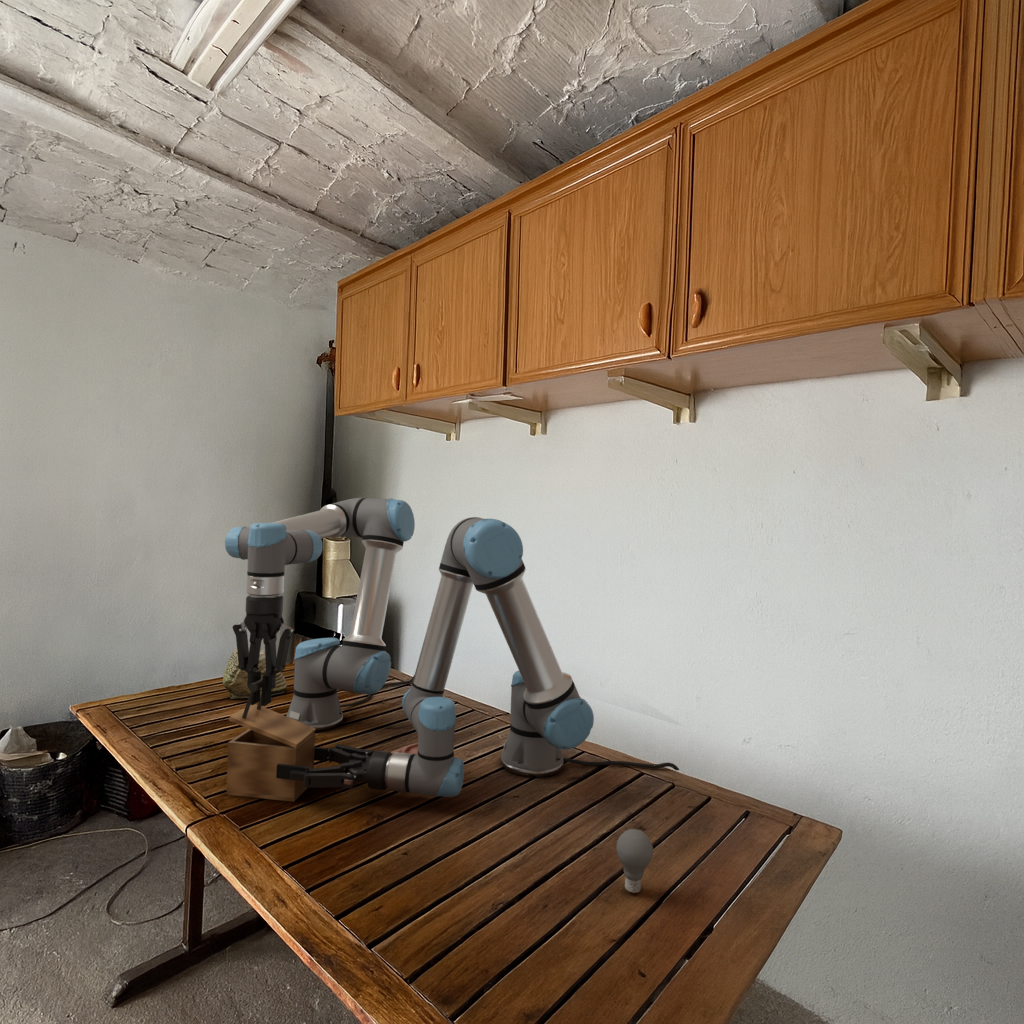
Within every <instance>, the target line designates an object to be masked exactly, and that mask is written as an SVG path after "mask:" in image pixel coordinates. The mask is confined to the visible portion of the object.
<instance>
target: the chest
mask: <svg viewBox="0 0 1024 1024" xmlns="http://www.w3.org/2000/svg"><path fill="white" fill-rule="evenodd" d="M315 747H316V732H314V733H313V734H312V735H311V736H309V737H308V738H307V739H306V740H305V741H303V742H302V743H301V744H300V745H299V746H297V747H296V748H294V747H291V746H289V745H287V744H284V743H282V742H279V741H277V740H275V739H272V738H270V737H267V736H265V735H263V734H260V733H258V732H255V731H253V730H251V729H248V728H247V729H246V730H245V731H243V732H242V733H240V734H238V735H237V736H235V737H234V738H233V739H231V740H229V741H228V743H227V765H226V767H227V768H226V771H227V772H226V792H225V793H226V794H225V795H226V796H234V797H235V796H236V797H246V798H255V799H264V800H274V801H282V802H291V803H294V802H296V800H298V799H299V798H300V797H301V796H302V794H303V793H304V792H305V791H307V789H308V788H306V787H304V781H300V780H290V779H280V778H276V772H277V765H278V764H287V765H297V766H308V765H309V769H314V768H315V760H314V749H315Z"/></svg>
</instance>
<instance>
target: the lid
mask: <svg viewBox="0 0 1024 1024" xmlns="http://www.w3.org/2000/svg"><path fill="white" fill-rule="evenodd" d="M261 688H262V678H261V679H259V680H257V681H255V682H253V683H252V684H250V685H249V690H250V691H251V692H250V695H249V698H247V701H246V704H245V707H244V708H242V709H240V710H238V711H237V712H235V713H233V714H232V715H230V716H229V717H228V721H229V722H232V723H234V724H236V725H238V726H241V727H244V728H245V729H247V730H248V729H251V730H253V731H255V732H258V733H260V734H263V735H265V736H267V737H270V738H272V739H275V740H277V741H279V742H282V743H284V744H287V745H289V746H291V747H294V748H296V747H297V746H299V745H300V744H301V743H302V742H303V741H305V740H306V739H307V738H308V737H309V736H311V735H312V734H313V733H316V732H315V730H316V729H315V728H313V727H311V726H308V725H306V724H303V723H301V722H298V721H296V720H294V719H291V718H289V717H286V715H284V714H282V713H279V712H277V711H274V710H272V709H269V708H267V707H265V706H261V702H262V694H261V697H260V701H259V702H258V703H256V704H254V705H251V702H252V699H253V696H254V693H255V692H256V691H257V690H259V689H261Z"/></svg>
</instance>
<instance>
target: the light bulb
mask: <svg viewBox="0 0 1024 1024" xmlns="http://www.w3.org/2000/svg"><path fill="white" fill-rule="evenodd" d="M615 849H616V854H617V857H618V859H619V861H620V863H621V865H622V867H623V873H624V874H623V875H624V876H625V878H624V888H625V890H627V891H628V892H630V893H634V894H635V893H639V892H640V891H641V889H642V887H641V886H642V879H643V877H644V875H645V871H646V868H647V867H648V866H649V864H650V863H651V861H652V859H653V855H654V847H653V843H652V841H651V838H649V836H648V835H647V834H646V833H645V832H643V831H642V830H641V829H636V828H629V829H627V830H625V831H623V832H622V833H621V834H620V835H619V837H618V839H617V841H616V847H615Z"/></svg>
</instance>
